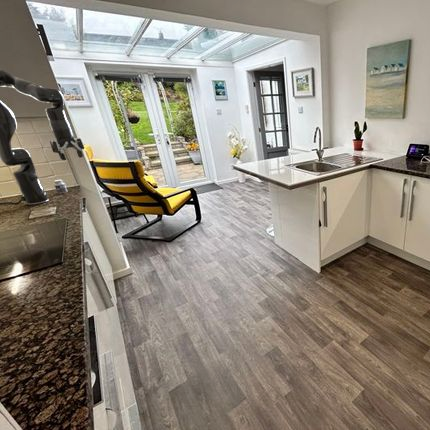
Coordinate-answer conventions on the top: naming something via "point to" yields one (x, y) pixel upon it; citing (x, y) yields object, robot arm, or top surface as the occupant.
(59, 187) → the pill bottle
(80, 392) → the top surface
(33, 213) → the drawing board
